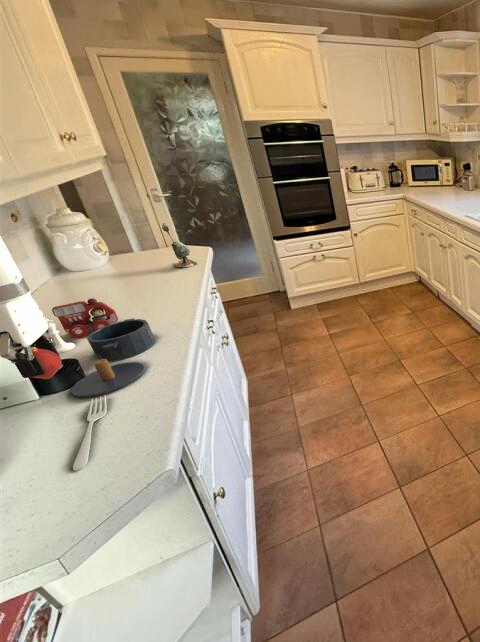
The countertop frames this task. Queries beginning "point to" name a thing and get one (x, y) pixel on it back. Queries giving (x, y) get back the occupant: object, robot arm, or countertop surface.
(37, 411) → the countertop surface
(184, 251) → the plant with pod
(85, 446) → the fork
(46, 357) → the onion
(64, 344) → the chess piece
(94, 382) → the lid
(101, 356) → the pan
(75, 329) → the toy fire truck
